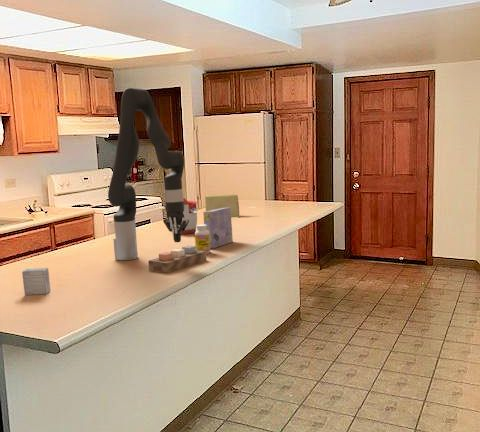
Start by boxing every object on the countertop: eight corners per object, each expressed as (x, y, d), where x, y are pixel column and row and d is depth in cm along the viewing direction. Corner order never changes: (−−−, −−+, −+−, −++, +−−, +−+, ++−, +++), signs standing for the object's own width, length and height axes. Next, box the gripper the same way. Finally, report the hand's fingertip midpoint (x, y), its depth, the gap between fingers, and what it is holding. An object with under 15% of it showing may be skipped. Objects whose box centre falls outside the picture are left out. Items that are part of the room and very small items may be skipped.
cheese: (242, 216, 356) (241, 193, 353) (236, 218, 347) (235, 195, 345) (212, 215, 364) (210, 193, 362) (205, 218, 355) (204, 195, 353)
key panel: (166, 273, 212) (166, 263, 212) (149, 270, 218) (148, 260, 218) (206, 260, 231) (205, 251, 231) (188, 258, 237) (188, 249, 237)
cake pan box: (226, 241, 273) (224, 206, 270) (234, 241, 270) (232, 206, 268) (204, 248, 257) (202, 211, 254) (213, 249, 254) (211, 212, 251)
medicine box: (51, 290, 195) (48, 267, 193) (47, 294, 190) (44, 270, 189) (28, 292, 194) (26, 268, 193) (24, 295, 190) (21, 271, 189)
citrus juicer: (187, 236, 291) (185, 199, 288) (164, 233, 302) (162, 198, 299) (206, 231, 303) (204, 196, 301) (184, 229, 314) (181, 195, 311)
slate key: (189, 257, 227) (189, 248, 227) (182, 256, 230) (182, 247, 229) (196, 255, 230) (195, 246, 230) (189, 254, 233) (188, 245, 232)
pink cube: (166, 264, 216) (165, 254, 215) (159, 263, 218) (158, 254, 218) (173, 262, 219) (172, 252, 219) (166, 261, 222) (165, 252, 221)
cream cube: (178, 260, 222) (177, 251, 221) (171, 260, 224) (170, 250, 223) (184, 258, 225) (184, 249, 224) (177, 258, 227) (177, 248, 227)
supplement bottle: (197, 255, 243) (195, 226, 241) (194, 252, 249) (192, 224, 247) (211, 253, 245) (210, 225, 243) (208, 250, 251) (207, 223, 249)
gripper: (192, 199, 220) (195, 241, 222) (169, 198, 228) (172, 239, 230) (180, 201, 214) (183, 244, 216) (156, 201, 222) (159, 242, 224)
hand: (177, 241), depth 223 cm, fingers closed
